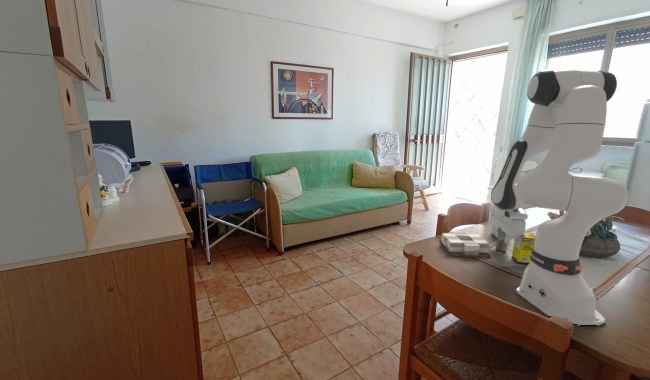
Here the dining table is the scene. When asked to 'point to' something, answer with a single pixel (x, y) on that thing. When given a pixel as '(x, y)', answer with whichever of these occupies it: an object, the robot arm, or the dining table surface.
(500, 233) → the peg
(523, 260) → the supplement box
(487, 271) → the dining table surface
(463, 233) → the holder board
